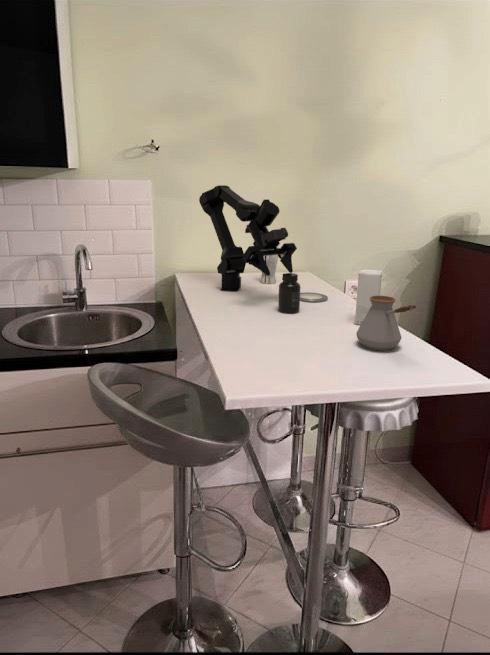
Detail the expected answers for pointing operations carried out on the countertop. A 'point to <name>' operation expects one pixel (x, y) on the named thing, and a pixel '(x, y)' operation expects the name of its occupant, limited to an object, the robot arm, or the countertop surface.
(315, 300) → the coaster
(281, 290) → the supplement bottle
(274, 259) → the beer glass
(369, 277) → the skincare box
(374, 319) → the coffee pot
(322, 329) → the countertop surface
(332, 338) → the countertop surface
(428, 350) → the countertop surface
